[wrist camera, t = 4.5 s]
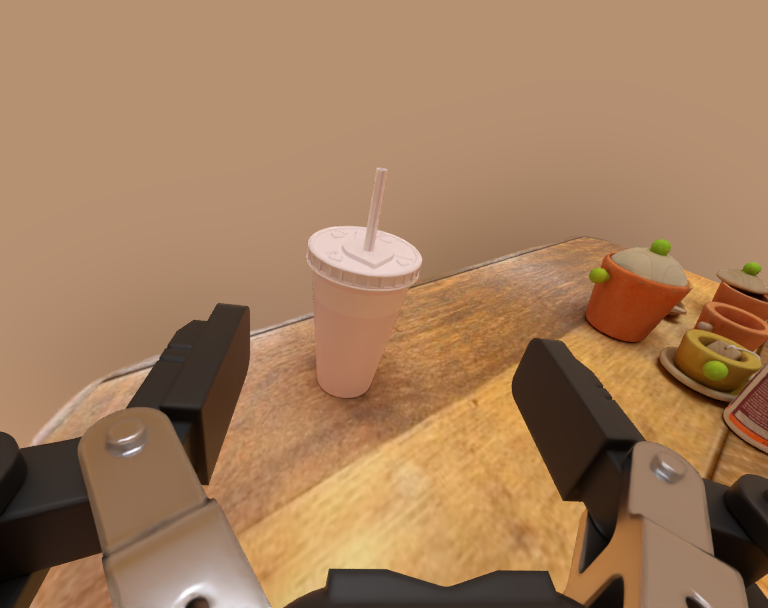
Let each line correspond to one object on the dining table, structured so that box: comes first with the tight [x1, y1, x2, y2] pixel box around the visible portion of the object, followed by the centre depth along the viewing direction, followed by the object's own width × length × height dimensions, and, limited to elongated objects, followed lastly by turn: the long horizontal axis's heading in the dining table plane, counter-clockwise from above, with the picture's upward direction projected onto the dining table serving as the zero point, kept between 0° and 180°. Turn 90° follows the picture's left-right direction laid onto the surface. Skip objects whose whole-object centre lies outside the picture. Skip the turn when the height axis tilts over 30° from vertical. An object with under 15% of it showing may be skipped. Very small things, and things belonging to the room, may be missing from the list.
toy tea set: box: [586, 239, 768, 402], centre depth 39 cm, size 26×16×10 cm, turn 131°
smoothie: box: [306, 168, 422, 398], centre depth 22 cm, size 6×6×14 cm
